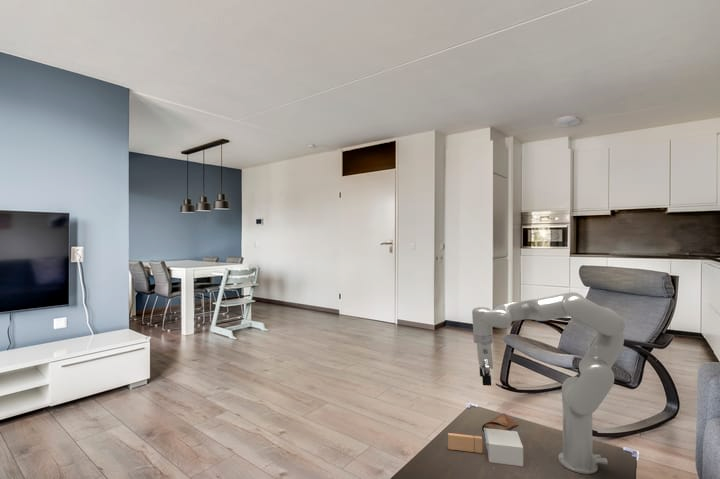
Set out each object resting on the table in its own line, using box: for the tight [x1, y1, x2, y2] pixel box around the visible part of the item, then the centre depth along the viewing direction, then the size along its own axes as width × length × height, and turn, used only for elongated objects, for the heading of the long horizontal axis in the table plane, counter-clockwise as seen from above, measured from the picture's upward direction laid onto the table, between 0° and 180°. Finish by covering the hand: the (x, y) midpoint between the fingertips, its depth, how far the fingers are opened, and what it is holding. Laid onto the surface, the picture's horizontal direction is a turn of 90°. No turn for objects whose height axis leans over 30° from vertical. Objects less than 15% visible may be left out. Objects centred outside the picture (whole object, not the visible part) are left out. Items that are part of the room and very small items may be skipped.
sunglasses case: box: [481, 412, 519, 433], centre depth 166 cm, size 18×7×7 cm
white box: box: [483, 428, 524, 467], centre depth 145 cm, size 13×12×7 cm
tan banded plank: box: [447, 432, 483, 454], centre depth 148 cm, size 13×2×6 cm, turn 77°
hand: (485, 380), depth 151 cm, fingers open, 9 cm apart
